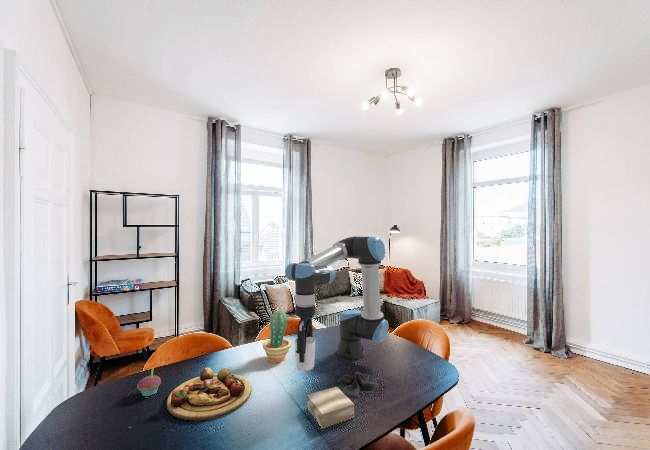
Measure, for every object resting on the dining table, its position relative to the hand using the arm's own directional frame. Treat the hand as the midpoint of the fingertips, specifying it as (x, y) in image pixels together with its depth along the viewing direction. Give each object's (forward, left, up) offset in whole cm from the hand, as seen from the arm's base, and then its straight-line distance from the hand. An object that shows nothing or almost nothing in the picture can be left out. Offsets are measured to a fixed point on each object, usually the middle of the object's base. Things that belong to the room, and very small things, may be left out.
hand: (305, 364), depth 110 cm
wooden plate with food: (-25, -31, -18) cm, 44 cm away
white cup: (0, 0, -1) cm, 1 cm away
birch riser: (+6, +8, -17) cm, 19 cm away
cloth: (-5, +29, -18) cm, 34 cm away
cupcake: (-38, -53, -17) cm, 68 cm away
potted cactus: (-46, +4, -17) cm, 49 cm away
